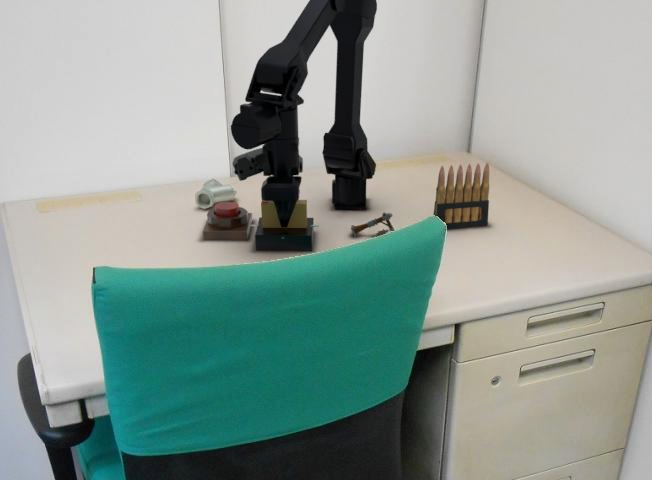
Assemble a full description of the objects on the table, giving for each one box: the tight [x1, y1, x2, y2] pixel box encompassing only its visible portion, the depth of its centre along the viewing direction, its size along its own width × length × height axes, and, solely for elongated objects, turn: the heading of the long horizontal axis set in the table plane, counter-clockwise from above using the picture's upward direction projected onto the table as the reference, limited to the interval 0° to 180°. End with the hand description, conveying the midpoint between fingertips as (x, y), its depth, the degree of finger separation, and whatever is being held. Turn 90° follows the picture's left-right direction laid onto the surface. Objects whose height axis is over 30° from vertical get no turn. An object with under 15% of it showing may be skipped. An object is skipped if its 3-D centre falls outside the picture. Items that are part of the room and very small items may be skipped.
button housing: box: [202, 206, 253, 241], centre depth 156 cm, size 8×10×4 cm
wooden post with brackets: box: [350, 212, 395, 237], centre depth 155 cm, size 2×8×4 cm, turn 86°
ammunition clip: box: [433, 162, 490, 230], centre depth 157 cm, size 11×2×12 cm, turn 104°
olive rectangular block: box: [260, 199, 308, 228], centre depth 150 cm, size 8×2×5 cm, turn 91°
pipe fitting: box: [194, 178, 238, 210], centre depth 169 cm, size 8×4×7 cm
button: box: [214, 201, 240, 217], centre depth 155 cm, size 4×4×2 cm
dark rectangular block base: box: [251, 216, 319, 252], centre depth 152 cm, size 12×12×3 cm
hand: (284, 223), depth 151 cm, fingers open, 4 cm apart
